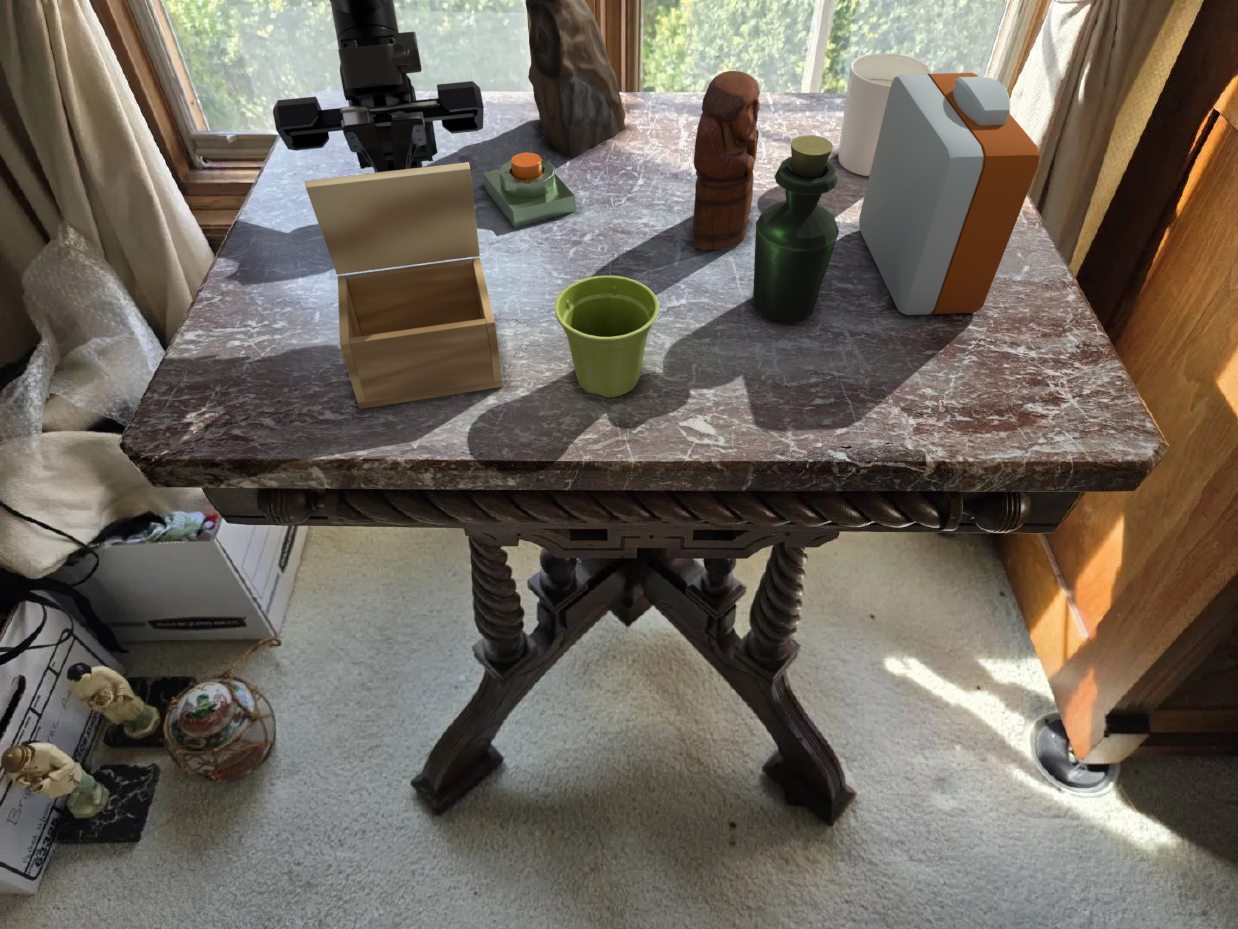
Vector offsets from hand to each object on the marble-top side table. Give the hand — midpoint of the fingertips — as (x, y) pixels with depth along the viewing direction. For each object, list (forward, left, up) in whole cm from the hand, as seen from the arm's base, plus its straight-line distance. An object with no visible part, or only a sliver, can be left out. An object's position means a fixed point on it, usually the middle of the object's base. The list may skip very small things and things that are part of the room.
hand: (398, 206), depth 80 cm
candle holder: (-5, +63, -13) cm, 65 cm away
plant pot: (+18, +13, -13) cm, 26 cm away
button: (-16, +19, -9) cm, 27 cm away
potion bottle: (+16, +35, -13) cm, 41 cm away
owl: (-29, +32, -13) cm, 45 cm away
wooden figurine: (0, +37, -13) cm, 39 cm away
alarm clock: (+17, +52, -13) cm, 56 cm away
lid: (+5, -1, +1) cm, 5 cm away
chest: (+8, -2, -12) cm, 15 cm away
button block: (-16, +19, -12) cm, 28 cm away
